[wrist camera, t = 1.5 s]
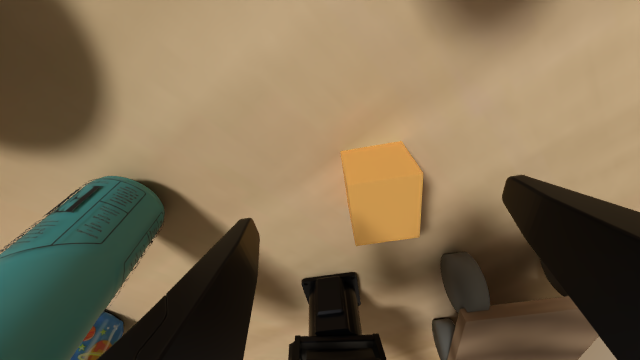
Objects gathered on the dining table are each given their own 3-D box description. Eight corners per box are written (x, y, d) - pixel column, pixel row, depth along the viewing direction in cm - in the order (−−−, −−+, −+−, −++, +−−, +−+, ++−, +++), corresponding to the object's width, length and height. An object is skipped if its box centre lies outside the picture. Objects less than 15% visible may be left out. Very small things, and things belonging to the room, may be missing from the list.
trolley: (522, 325, 38) (596, 437, 28) (426, 336, 39) (466, 447, 29) (575, 224, 27) (733, 354, 17) (438, 243, 28) (509, 376, 18)
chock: (400, 197, 24) (419, 237, 20) (348, 205, 25) (355, 245, 20) (401, 140, 21) (423, 173, 17) (340, 150, 21) (347, 185, 17)
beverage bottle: (127, 149, 21) (-656, 750, 4) (192, 203, 24) (-88, 659, 7) (80, 187, 22) (-581, 700, 6) (147, 232, 26) (-158, 646, 9)
